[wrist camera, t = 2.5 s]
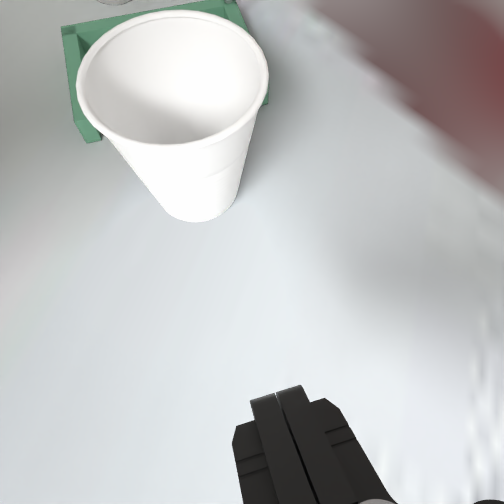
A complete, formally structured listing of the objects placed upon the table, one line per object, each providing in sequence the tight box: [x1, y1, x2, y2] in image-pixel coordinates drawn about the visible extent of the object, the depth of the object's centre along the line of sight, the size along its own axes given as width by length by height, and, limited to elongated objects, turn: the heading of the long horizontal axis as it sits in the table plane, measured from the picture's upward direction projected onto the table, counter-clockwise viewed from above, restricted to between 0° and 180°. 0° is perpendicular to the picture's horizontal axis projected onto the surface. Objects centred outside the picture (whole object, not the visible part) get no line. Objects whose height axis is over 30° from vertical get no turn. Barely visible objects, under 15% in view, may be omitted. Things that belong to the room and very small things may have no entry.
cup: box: [76, 10, 269, 222], centre depth 25 cm, size 10×10×11 cm
